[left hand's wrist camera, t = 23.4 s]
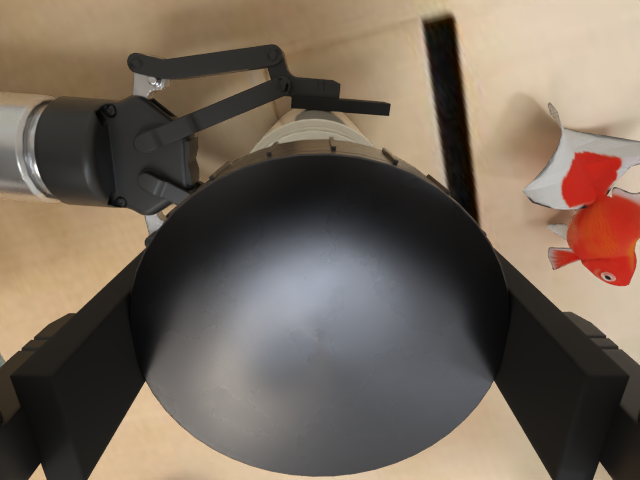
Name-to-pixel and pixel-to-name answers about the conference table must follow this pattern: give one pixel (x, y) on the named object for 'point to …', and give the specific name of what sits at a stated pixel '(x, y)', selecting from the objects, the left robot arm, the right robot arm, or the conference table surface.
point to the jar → (312, 128)
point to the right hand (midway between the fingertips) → (377, 174)
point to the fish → (592, 202)
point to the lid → (319, 310)
